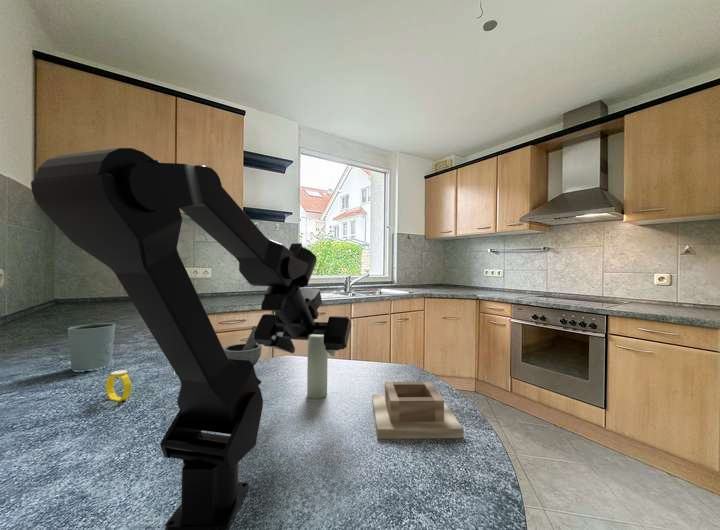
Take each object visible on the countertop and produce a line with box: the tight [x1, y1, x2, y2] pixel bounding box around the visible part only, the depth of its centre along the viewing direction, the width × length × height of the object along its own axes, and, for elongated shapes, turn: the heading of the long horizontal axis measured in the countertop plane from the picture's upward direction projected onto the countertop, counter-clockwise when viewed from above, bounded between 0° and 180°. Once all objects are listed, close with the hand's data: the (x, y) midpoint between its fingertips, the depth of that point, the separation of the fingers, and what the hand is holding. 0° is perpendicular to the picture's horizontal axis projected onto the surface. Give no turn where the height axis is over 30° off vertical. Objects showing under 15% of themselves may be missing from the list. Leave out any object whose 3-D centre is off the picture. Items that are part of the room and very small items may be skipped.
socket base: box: [371, 381, 464, 440], centre depth 55 cm, size 14×14×5 cm
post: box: [306, 334, 329, 400], centre depth 66 cm, size 4×4×13 cm
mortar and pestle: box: [223, 325, 262, 367], centre depth 81 cm, size 11×9×12 cm
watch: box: [105, 369, 132, 403], centre depth 63 cm, size 6×3×6 cm, turn 71°
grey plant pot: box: [67, 322, 116, 370], centre depth 85 cm, size 10×10×12 cm
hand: (313, 352), depth 64 cm, fingers open, 9 cm apart
